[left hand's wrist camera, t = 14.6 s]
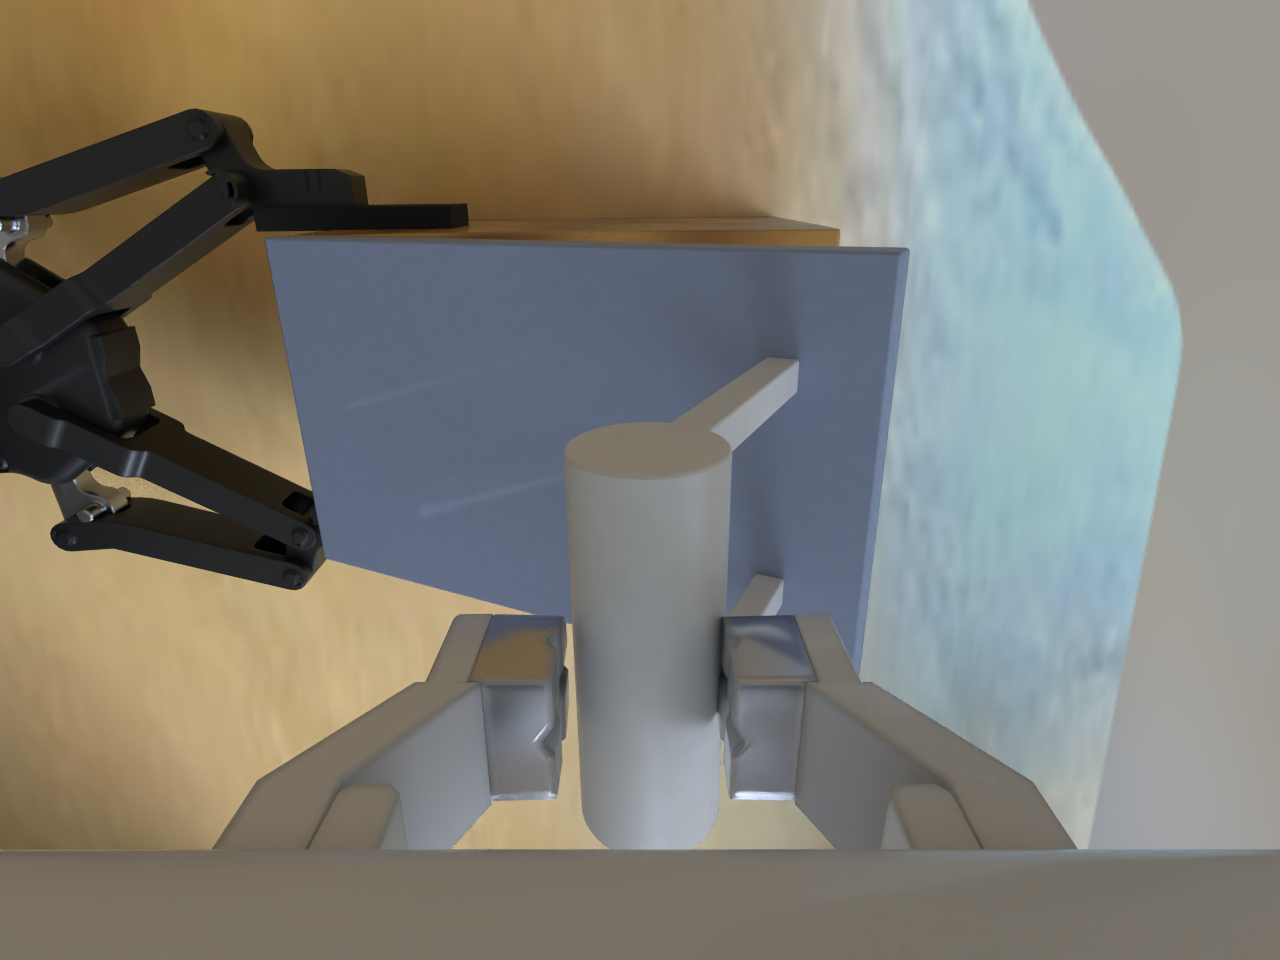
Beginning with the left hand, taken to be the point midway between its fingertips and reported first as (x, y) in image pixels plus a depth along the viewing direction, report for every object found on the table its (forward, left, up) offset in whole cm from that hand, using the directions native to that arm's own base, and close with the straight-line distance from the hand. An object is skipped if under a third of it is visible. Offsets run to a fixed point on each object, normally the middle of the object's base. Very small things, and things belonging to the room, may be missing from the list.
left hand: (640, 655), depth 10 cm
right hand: (+3, +5, -18) cm, 19 cm away
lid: (+1, +2, -10) cm, 10 cm away
